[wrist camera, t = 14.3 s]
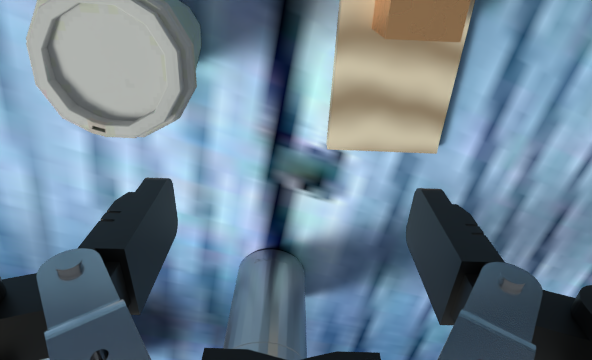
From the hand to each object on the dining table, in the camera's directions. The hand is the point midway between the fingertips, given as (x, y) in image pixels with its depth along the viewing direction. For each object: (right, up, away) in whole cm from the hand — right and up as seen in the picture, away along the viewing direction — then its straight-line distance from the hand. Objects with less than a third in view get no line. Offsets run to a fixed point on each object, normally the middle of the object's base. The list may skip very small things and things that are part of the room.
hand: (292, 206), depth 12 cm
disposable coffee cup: (-12, +15, +24) cm, 31 cm away
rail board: (+10, +14, +24) cm, 30 cm away
